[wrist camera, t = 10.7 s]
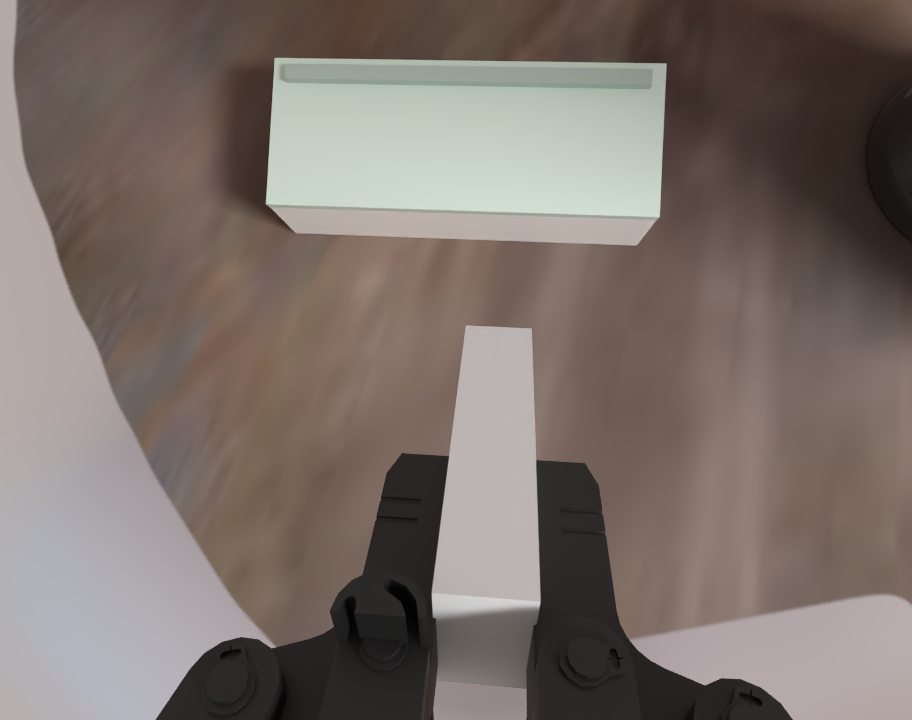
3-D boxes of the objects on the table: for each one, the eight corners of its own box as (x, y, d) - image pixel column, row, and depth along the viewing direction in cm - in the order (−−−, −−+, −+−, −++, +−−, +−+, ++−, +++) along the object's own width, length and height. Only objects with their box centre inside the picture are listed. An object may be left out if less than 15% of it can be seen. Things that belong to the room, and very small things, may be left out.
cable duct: (639, 119, 44) (658, 79, 39) (636, 245, 42) (656, 220, 37) (307, 112, 45) (284, 73, 40) (295, 233, 44) (270, 208, 39)
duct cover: (662, 70, 38) (669, 58, 36) (656, 220, 37) (662, 214, 36) (279, 64, 39) (271, 52, 38) (270, 207, 39) (262, 201, 38)
